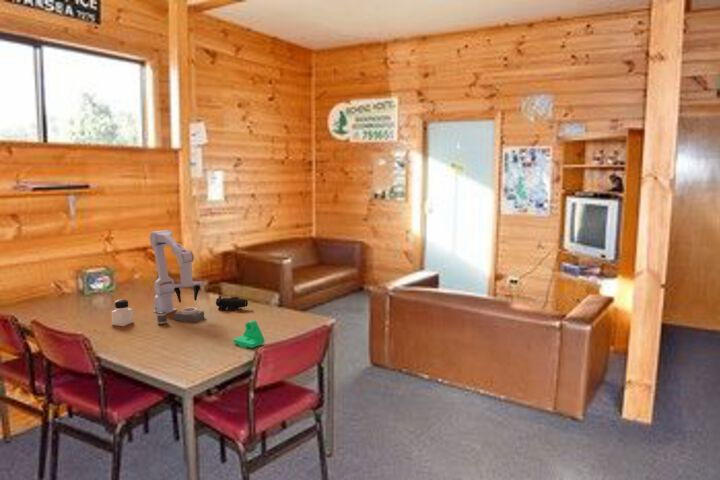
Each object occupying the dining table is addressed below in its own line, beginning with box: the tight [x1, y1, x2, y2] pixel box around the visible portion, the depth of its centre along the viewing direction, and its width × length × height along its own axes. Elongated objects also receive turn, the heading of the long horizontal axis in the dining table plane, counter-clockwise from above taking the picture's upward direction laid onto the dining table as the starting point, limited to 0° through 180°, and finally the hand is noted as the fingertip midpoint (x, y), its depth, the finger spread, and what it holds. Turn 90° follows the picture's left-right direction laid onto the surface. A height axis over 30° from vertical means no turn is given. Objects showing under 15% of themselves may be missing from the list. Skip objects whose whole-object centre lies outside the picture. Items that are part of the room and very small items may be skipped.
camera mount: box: [233, 319, 265, 349], centre depth 228 cm, size 12×8×10 cm, turn 56°
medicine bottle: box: [111, 299, 134, 327], centre depth 258 cm, size 7×7×12 cm
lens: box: [156, 311, 168, 326], centre depth 258 cm, size 4×4×6 cm
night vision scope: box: [215, 295, 249, 312], centre depth 282 cm, size 8×18×10 cm
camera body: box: [174, 306, 205, 323], centre depth 266 cm, size 12×8×5 cm, turn 71°
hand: (187, 301), depth 264 cm, fingers open, 7 cm apart
